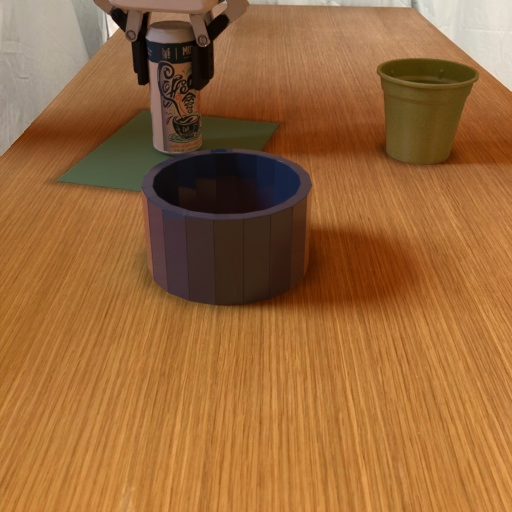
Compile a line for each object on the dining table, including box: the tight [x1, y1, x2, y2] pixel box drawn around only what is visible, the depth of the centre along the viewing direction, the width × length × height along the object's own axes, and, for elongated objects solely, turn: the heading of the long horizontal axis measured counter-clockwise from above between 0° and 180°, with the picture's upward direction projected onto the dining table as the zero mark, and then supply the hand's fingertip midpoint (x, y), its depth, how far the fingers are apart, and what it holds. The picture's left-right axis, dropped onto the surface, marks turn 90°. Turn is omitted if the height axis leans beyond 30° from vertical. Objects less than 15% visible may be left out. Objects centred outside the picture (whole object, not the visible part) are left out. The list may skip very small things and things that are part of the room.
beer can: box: [146, 19, 202, 156], centre depth 66 cm, size 5×5×12 cm
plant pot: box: [376, 57, 480, 165], centre depth 67 cm, size 9×9×9 cm
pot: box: [140, 149, 313, 306], centre depth 49 cm, size 12×12×7 cm
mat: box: [55, 109, 280, 193], centre depth 69 cm, size 16×20×1 cm
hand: (174, 81), depth 66 cm, fingers closed on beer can, 4 cm apart
